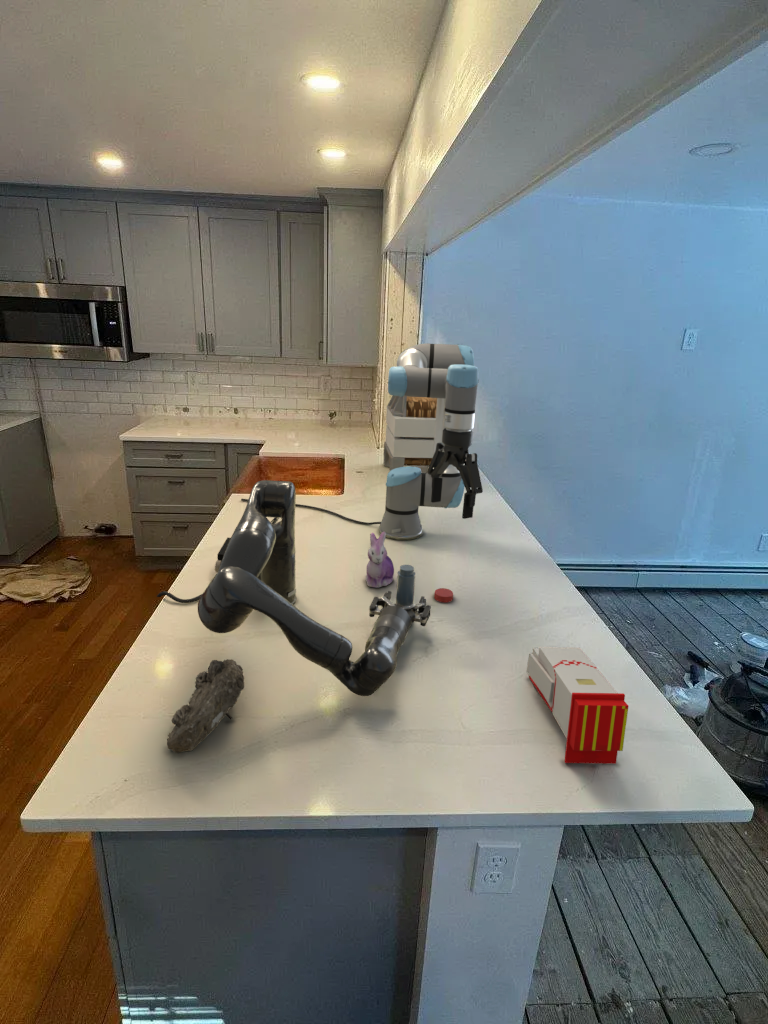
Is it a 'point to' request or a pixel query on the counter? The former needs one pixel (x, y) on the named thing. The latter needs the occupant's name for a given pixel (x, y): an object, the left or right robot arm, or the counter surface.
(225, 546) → the figurine character
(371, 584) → the figurine
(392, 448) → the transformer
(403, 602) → the jar
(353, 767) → the counter surface
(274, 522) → the feather
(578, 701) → the toy
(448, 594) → the lid
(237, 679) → the fossil
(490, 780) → the counter surface
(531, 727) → the counter surface
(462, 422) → the right robot arm
